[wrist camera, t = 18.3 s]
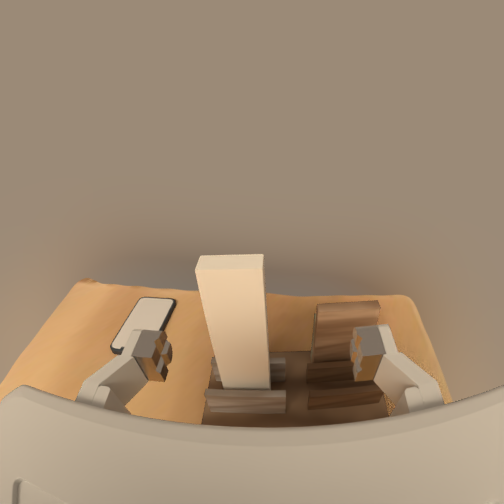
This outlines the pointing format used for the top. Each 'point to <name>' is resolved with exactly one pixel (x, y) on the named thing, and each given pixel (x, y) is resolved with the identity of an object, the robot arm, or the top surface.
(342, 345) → the block
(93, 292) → the top surface
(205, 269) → the cream rectangular board
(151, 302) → the smartphone
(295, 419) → the rack
